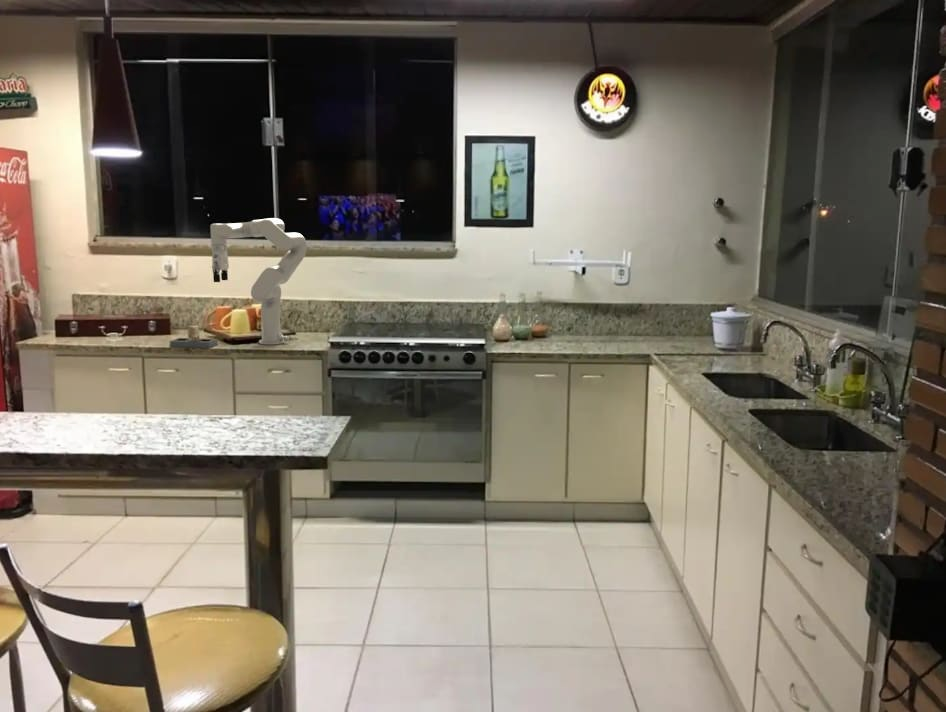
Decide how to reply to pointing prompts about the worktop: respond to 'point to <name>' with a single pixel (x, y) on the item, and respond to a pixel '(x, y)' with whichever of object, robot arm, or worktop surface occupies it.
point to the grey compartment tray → (193, 343)
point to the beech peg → (193, 333)
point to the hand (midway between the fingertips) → (220, 281)
